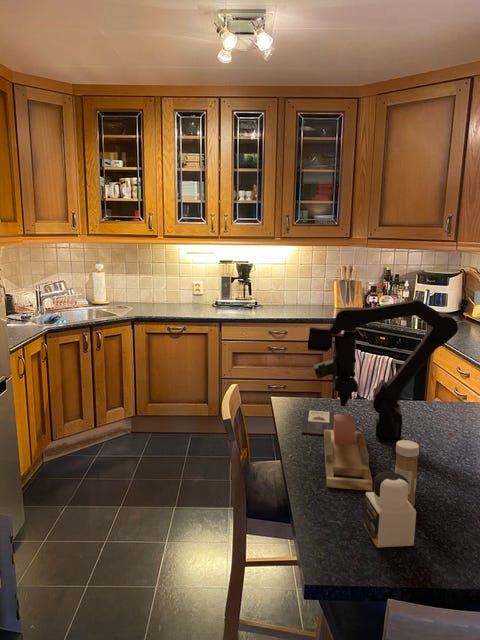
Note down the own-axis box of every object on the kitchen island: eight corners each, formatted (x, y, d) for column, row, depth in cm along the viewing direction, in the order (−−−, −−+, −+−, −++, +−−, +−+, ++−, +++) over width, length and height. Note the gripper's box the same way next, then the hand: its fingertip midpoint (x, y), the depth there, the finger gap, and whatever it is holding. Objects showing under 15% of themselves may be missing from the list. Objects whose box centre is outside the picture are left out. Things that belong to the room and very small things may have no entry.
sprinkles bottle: (419, 504, 101) (424, 445, 98) (405, 511, 98) (410, 450, 96) (401, 495, 105) (405, 437, 102) (387, 501, 102) (391, 442, 100)
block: (351, 432, 133) (352, 415, 132) (354, 444, 125) (354, 426, 124) (333, 431, 133) (334, 414, 132) (334, 443, 125) (335, 425, 125)
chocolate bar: (301, 432, 136) (305, 410, 154) (301, 435, 136) (305, 412, 154) (333, 435, 134) (333, 412, 152) (333, 438, 135) (333, 415, 152)
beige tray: (360, 438, 134) (360, 425, 133) (372, 490, 106) (373, 474, 106) (323, 436, 135) (324, 422, 134) (326, 486, 108) (327, 470, 107)
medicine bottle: (363, 524, 94) (366, 468, 92) (398, 523, 94) (402, 466, 92) (376, 548, 87) (380, 487, 85) (414, 546, 87) (419, 486, 85)
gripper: (315, 344, 144) (314, 394, 146) (316, 360, 126) (314, 416, 128) (353, 345, 142) (351, 395, 145) (359, 362, 124) (356, 418, 127)
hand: (342, 406), depth 136 cm, fingers closed
